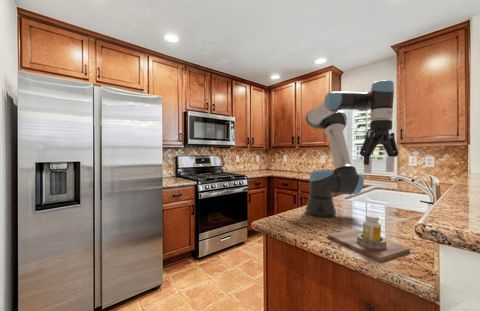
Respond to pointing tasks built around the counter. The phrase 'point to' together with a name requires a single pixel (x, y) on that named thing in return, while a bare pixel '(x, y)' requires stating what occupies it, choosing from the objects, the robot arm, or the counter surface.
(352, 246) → the ring board
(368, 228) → the supplement bottle
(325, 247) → the counter surface
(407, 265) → the counter surface
